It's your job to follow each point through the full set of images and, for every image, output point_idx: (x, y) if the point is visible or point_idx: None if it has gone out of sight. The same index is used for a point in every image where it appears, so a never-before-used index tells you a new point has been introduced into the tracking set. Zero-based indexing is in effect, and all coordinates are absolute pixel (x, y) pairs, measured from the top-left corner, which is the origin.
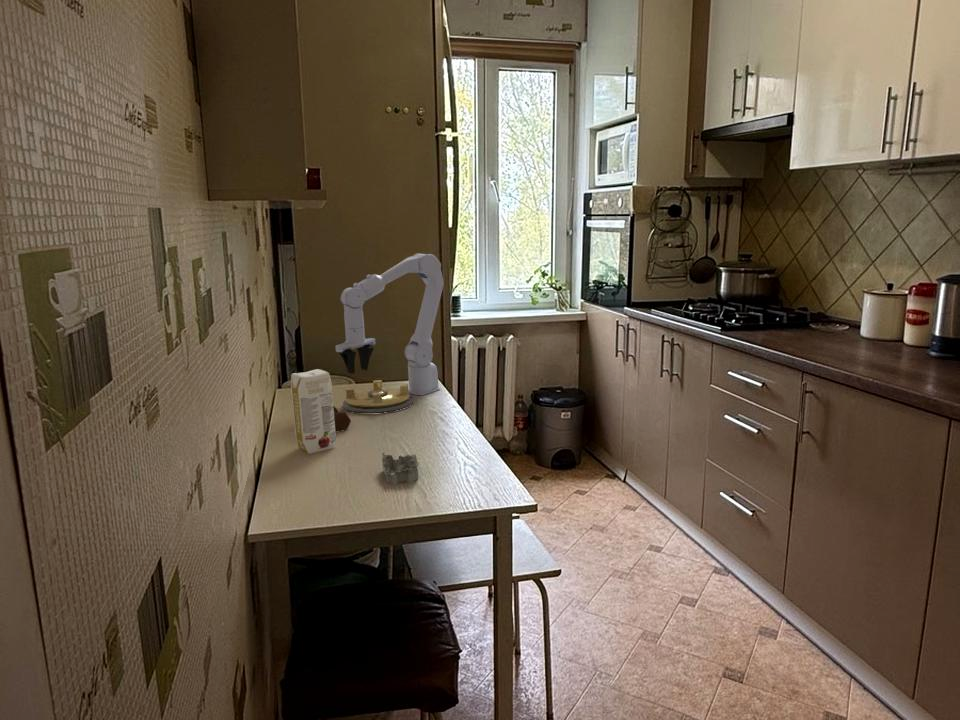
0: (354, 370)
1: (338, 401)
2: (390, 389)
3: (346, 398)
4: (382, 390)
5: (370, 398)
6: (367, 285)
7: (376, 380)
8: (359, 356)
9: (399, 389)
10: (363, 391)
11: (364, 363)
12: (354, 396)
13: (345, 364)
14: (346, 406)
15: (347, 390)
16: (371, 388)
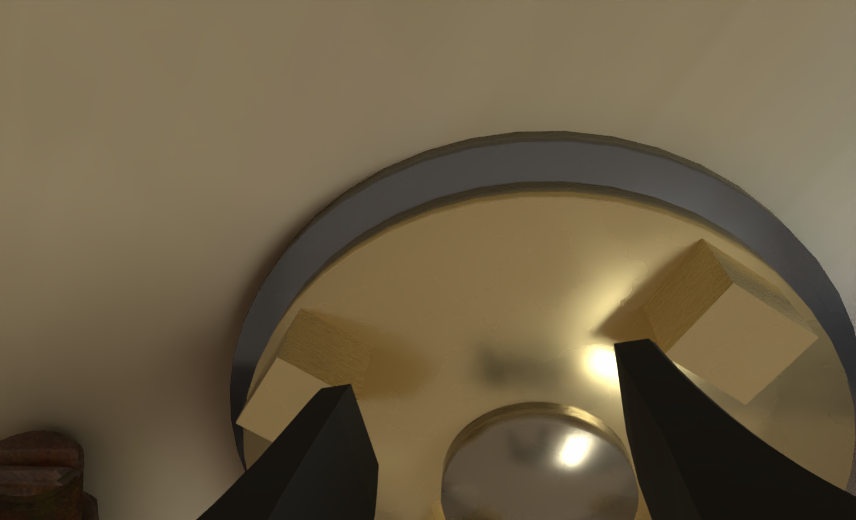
0: (371, 508)
1: (321, 53)
2: (767, 406)
3: (259, 371)
4: (605, 494)
5: (422, 512)
6: None
7: (762, 307)
8: (683, 479)
9: (818, 466)
10: (530, 270)
11: (651, 492)
12: None
13: (242, 478)
14: (239, 399)
15: (250, 427)
16: (680, 223)
